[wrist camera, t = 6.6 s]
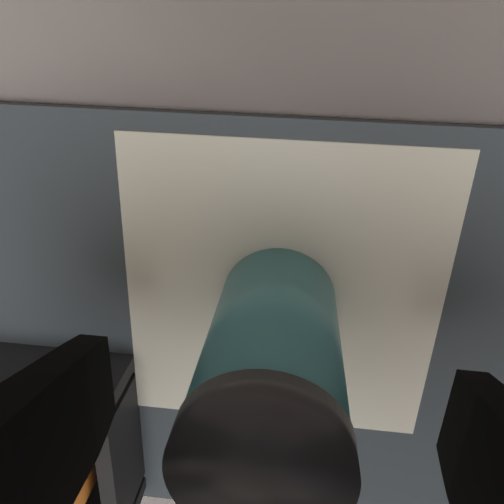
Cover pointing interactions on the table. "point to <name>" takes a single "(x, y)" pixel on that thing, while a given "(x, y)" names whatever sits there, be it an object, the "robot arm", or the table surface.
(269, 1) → the table surface
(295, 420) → the teal bottle
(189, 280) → the slate board
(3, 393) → the robot arm
